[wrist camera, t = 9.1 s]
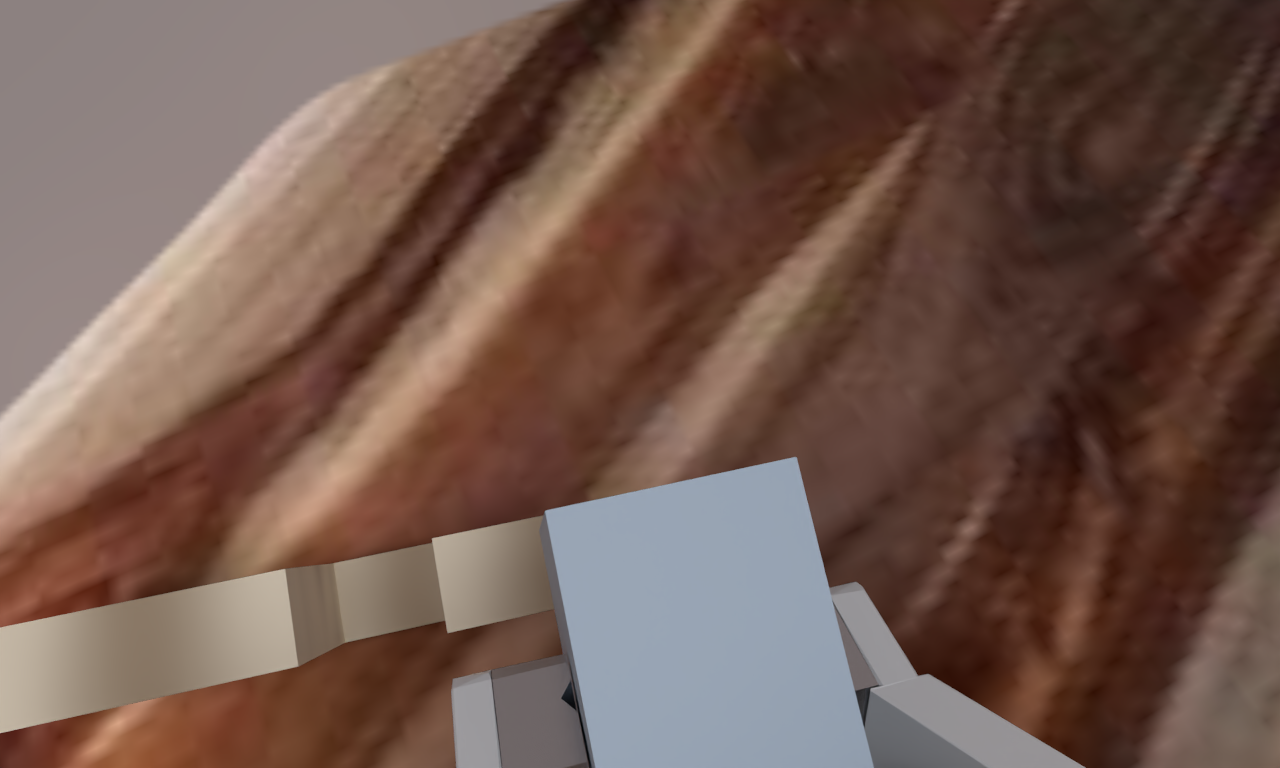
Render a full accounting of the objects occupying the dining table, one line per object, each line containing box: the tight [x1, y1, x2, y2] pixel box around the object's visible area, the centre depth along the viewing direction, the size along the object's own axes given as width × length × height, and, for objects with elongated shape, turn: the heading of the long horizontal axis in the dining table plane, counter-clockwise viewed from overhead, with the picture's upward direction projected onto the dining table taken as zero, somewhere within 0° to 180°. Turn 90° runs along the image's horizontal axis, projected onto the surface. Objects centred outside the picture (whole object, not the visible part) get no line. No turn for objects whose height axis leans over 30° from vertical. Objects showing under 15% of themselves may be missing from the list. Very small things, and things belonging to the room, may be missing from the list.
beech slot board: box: [0, 515, 554, 733], centre depth 25 cm, size 18×2×7 cm, turn 102°
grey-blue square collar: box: [539, 457, 874, 768], centre depth 12 cm, size 6×3×8 cm, turn 12°
